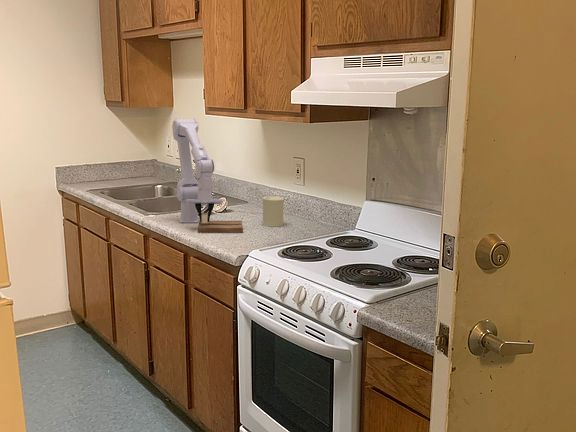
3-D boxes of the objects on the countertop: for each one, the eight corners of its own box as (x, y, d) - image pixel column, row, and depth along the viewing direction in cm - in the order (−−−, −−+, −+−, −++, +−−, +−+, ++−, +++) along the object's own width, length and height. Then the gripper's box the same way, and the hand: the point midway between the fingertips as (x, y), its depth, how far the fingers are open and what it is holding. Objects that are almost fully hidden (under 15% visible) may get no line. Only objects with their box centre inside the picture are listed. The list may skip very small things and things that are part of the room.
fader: (201, 221, 248) (201, 212, 247) (207, 221, 248) (207, 212, 247) (201, 224, 243) (201, 214, 242) (207, 224, 243) (207, 214, 242)
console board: (199, 225, 253) (199, 220, 252) (241, 225, 255) (241, 220, 254) (197, 232, 239) (197, 227, 239) (242, 232, 241) (242, 227, 241)
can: (259, 222, 261) (259, 195, 258) (279, 221, 264) (279, 195, 262) (266, 227, 252) (266, 199, 250) (286, 226, 256) (287, 198, 253)
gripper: (186, 190, 238) (186, 223, 241) (222, 190, 240) (222, 223, 242) (187, 187, 245) (187, 219, 248) (222, 187, 246) (222, 219, 249)
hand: (204, 221), depth 245 cm, fingers closed on fader, 2 cm apart
